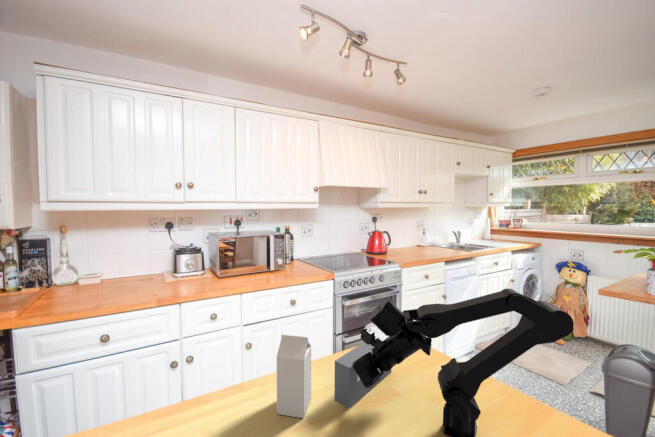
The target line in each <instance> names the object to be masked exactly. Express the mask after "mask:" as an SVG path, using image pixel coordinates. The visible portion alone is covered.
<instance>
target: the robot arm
mask: <svg viewBox="0 0 655 437" xmlns="http://www.w3.org/2000/svg"><path fill="white" fill-rule="evenodd" d="M511 312H515V313H517V314H519V315H521V317H520V319H519V321H518V322H517V324H516V326H515V327H513V328H512V329H510V330H509V331H507V332H506V333H505V334H503V335H501V337H499V338H498V339H496V340H495V341H493V342H491V343H490V344H489V345H488V346H486V347H485V348H483V349H482V350H481V351H479V352H478V353H476V354H475V355H474V356H472V357H471V358H469V359H468V360H466V361H460V362H458V361H457V359H456V358H455V357H452V358H451V359H450V360H449V361H448V362H446V364H443V365H441V366H440V370H439V371H438V372H437V382H438V384H439V388H440V391H441V394H442V397H443V400H444V402H445V403H444V405H443V409H442V412H443V413H442V426H444V429H443V434H444V435H445V436H448V437H477V432H478V426H477V420H478V419H479V418H480V415H481V413H482V412H481V409H480V408H479V405H478V403H477V401H476V398H475V397H476V395H477V393H478V391H479V390H480V387H481V385H482V384H483V382H484V381H486V380H487V379H489V378H490V377H492V376H493V375H495V374H496V373H497V372H499V371H500V370H502V369H503V368H505V367H507V365H509V364H510V363H512V362H513V361H515V360H516V359H518V358H519V357H521V356H523V355H524V354H525V353H527V352H528V351H529V350H531V349H532V348H534V347H536V346H538V345H544V344H545V345H546V344H553V343H555V342H558V341H560V340H562V339H565V338H566V337H569V336H570V335H571V334H572V333H573V331H575V330H574V329H575V328H574V325H575V323H574V319H573V318H572V316H571V315H570V314H569V313H568V312H567V311H564V310H563V309H562V308H559V307H558V306H556V305H555V304H553V303H552V302H549V301H546V300H535V299H533V298H531V297H529V296H526V295H524V294H522V293H519V292H518V291H516V290H514V289H513V288H504V289H502V290H500V291H496V292H492V293H489V294H486V295H481V296H478V297H474V298H470V299H467V300H466V299H465V300H462V301H459V302H454V303H449V304H447V303H431V304H430V303H429V304H428V303H427V304H423V305H420V306H419V307H417V308H414V309H413V308H412V309H407V310H404V309H403V311H402V310H400V309H399V308H398V307H397V306H396V305H395V304H394V302H393V301H392V300H390V299H389V298H387V299H386V300H385V301H383V302H382V303H380V304H378V305H377V306H376V307H375V308H374V309H373V310H372V312H371V313H370V314H369V317H368V320H369V321H370V322H369V323H368V324H365V326H364V328H363V329H362V330H360V332H359V333H360V339H361V340H362V341H363V343H364V342H365V343H366V344H367V345H369V344H370V345H371V346H373V347H374V348H373V349H371V350H372V351H373V354H371V352H368V353H367V354H366V355H363V356H362V357H360V358H359V359H357V360H356V361H355V362H353V368H354V370H355V371H356V373H357V375H358V376H359V378H360V380H361V381H362V383H363V385H364V386H365V387H366V388H369V387H371V386H372V385H374V384H375V383H376V382H377V381H378V380H379V379H380V377H381V376H382V375H383V374H384V373H383V372H384V371H389V370H390V369H391V368H392V369H393V368H394V367H395V366H396V365H400V364H401V363H403V362H404V360H406V359H407V358H408V357H411V356H412V355H413V354H415V353H417V352H418V351H420V350H421V351H422V352H423V353H424V354H426V355H427V356H431V351H432V341H433V340H432V339H436V338H439V337H442V336H443V335H446V334H448V333H450V332H451V331H453V329H455V328H456V327H458V326H461V325H463V324H467V323H470V322H471V323H472V322H474V321H475V322H476V321H478V320H483V319H487V318H492V317H495V316H499V315H503V314H506V313H511ZM392 369H391V370H392Z"/></svg>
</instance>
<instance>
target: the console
mask: <svg viewBox="0 0 655 437" xmlns="http://www.w3.org/2000/svg"><path fill="white" fill-rule="evenodd" d="M373 348H374V347H373V346H371V345H370V344H369V345H367V344H366V343H365V342H364V341H363V342H362V343H361V344H359V345H357V346H355V348H352V349H351V350H349V351H348V352H347V353H345V354H343V355H342V356H340V357H338V358H337V359H335V360H334V401H335V402H337V403H338V404H340V405H342V406H344V408H346V409H348V410H350V409H351V408H352V407H354V406H355V405H356V404H357V403H359V401H361V400H362V399H363V398H364V397H365V396H366V395H367V394H369V392H371V391H372V390H374V388H376V386H377V385H379V384H380V383H381V382H382V381H383V380H384V379H385V378H387V377H388V376H389V375H391V374H392V369H393V367H392V368H391V369H390V370H389V371H384V372H383V373H384V374H383V375H382V376H381V377H380V379H379V380H378V381H377V382H376V383H375V384H374V385H372V386H371V387H369V388H366V387H365V386H364V385H363V383H362V381H361V380H360V381H358V382H357V373H356V371H355V370H354V368H353V362H355V361H356V360H357V359H359V358H360V357H362V356H363V355H366V354H367V353H368V352H371V354H373V351H372V350H371V349H373Z"/></svg>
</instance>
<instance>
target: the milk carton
mask: <svg viewBox="0 0 655 437" xmlns="http://www.w3.org/2000/svg"><path fill="white" fill-rule="evenodd" d="M280 338H281V339H280V342H279V346H278V350H277V353H276V414H277V415H282V416H288V417H295V418H300V419H304V418H305V416H306V414H307V411H308V408H309V405H310V403H311V402H312V401H311V400H312V345H311V343H310V342H309V337H308V336H301V335H290V334H281V336H280Z"/></svg>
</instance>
